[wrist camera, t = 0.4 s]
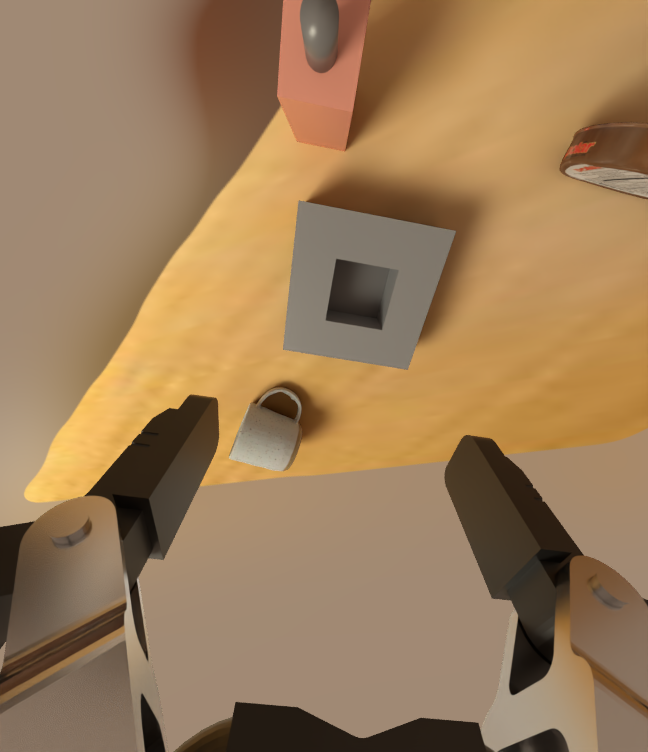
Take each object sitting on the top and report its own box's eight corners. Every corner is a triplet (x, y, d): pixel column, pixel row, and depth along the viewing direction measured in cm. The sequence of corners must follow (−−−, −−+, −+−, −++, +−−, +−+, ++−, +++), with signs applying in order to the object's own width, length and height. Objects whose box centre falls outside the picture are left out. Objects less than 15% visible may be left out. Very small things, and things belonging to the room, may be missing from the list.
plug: (303, 74, 24) (274, -76, 12) (355, 86, 24) (379, -49, 12) (296, 141, 26) (267, 73, 14) (344, 151, 27) (356, 92, 14)
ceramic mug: (288, 448, 44) (281, 488, 38) (238, 430, 43) (221, 469, 36) (315, 396, 40) (313, 430, 33) (260, 374, 38) (245, 406, 32)
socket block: (303, 203, 29) (298, 200, 24) (437, 229, 29) (456, 231, 25) (288, 333, 35) (282, 349, 31) (398, 351, 36) (407, 369, 32)
